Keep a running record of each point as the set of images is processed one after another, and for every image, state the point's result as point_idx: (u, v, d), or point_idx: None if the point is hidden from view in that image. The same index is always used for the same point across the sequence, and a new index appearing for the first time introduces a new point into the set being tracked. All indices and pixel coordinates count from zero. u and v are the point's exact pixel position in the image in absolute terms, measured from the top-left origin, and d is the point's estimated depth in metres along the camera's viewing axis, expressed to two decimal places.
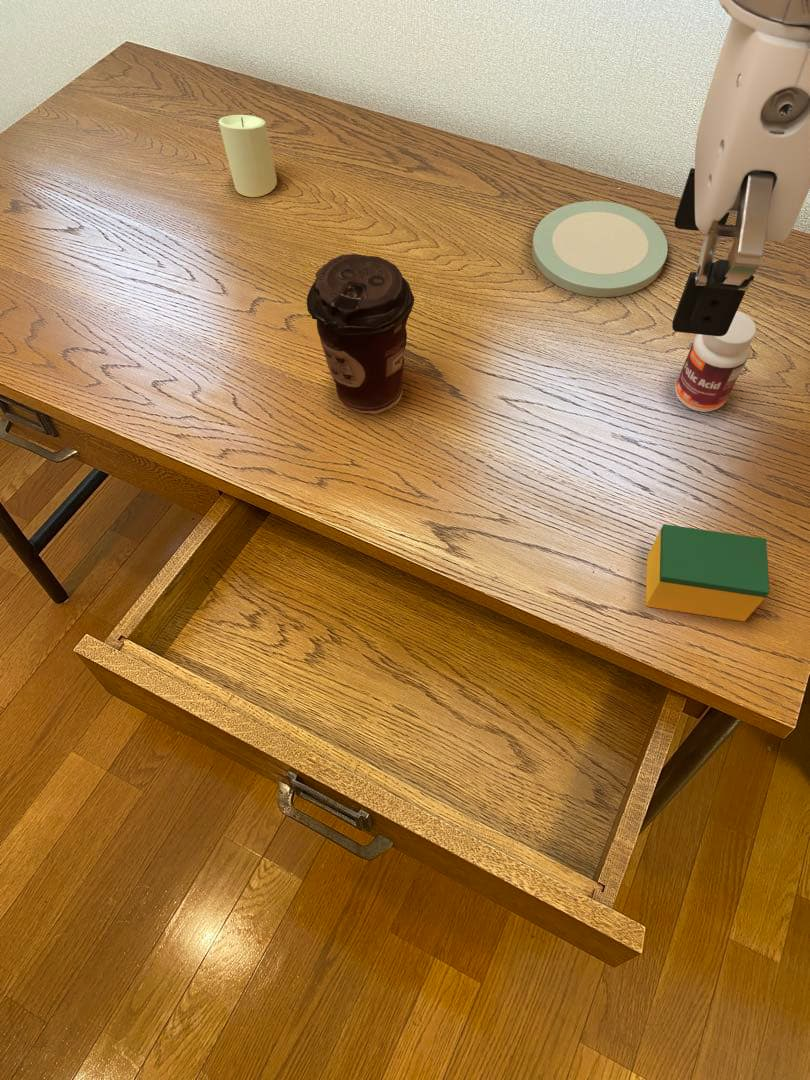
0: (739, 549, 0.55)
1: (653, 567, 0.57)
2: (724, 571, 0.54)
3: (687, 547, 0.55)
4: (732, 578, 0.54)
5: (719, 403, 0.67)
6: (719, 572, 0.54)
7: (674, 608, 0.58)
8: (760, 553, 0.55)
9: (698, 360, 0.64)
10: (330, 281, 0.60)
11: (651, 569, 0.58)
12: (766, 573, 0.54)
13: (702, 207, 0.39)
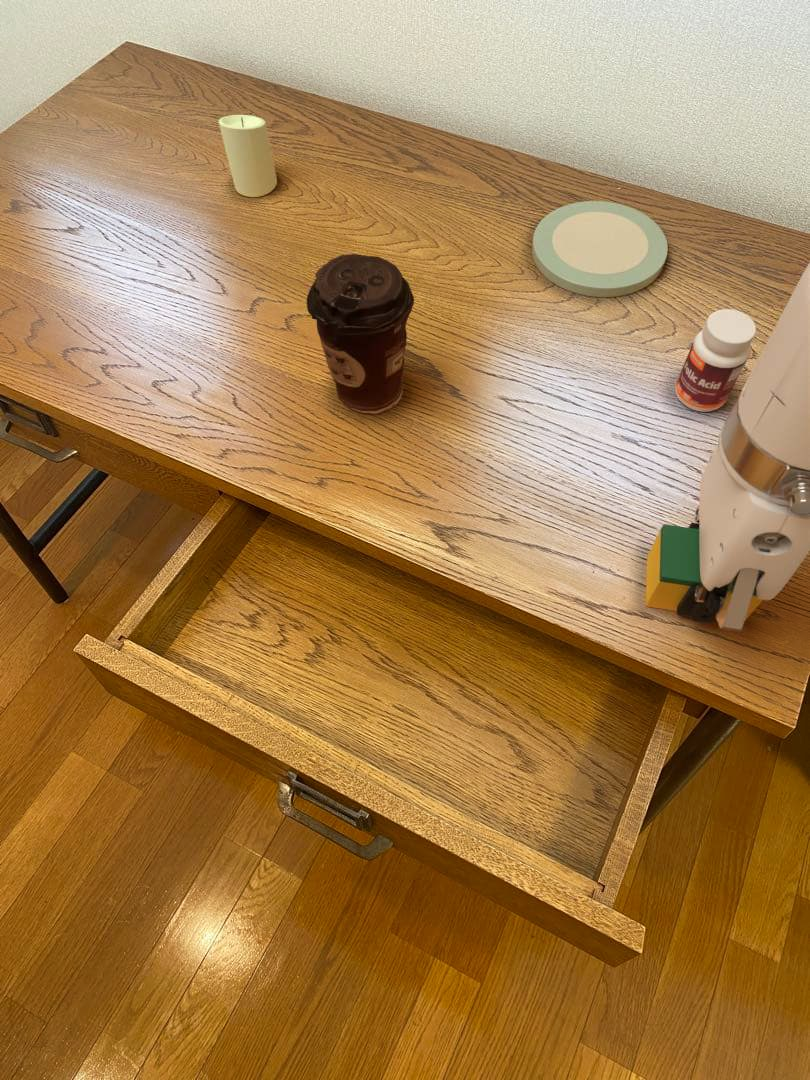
0: None
1: (653, 567, 0.57)
2: None
3: (687, 547, 0.55)
4: None
5: (719, 403, 0.67)
6: None
7: (674, 608, 0.58)
8: None
9: (698, 360, 0.64)
10: (330, 281, 0.60)
11: (651, 569, 0.58)
12: None
13: (706, 574, 0.49)
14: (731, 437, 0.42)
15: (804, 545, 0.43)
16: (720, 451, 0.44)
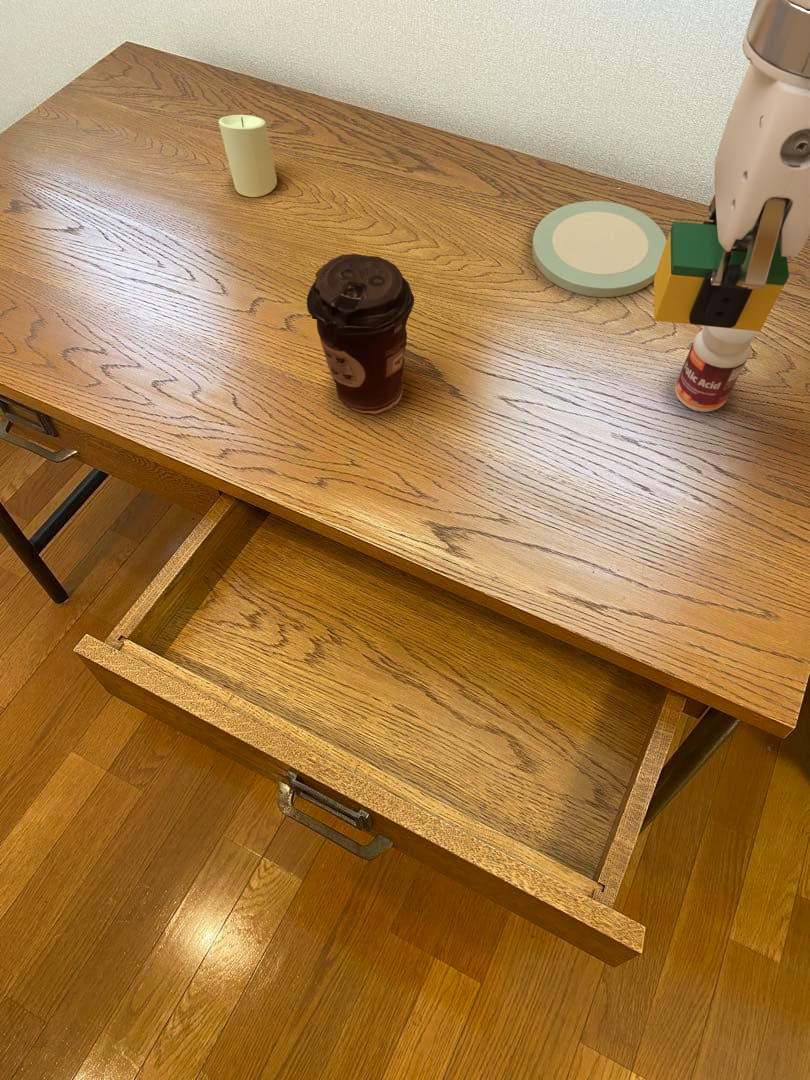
0: None
1: (662, 274, 0.53)
2: (740, 259, 0.50)
3: (699, 240, 0.51)
4: None
5: (719, 403, 0.67)
6: (735, 260, 0.50)
7: (685, 319, 0.54)
8: (778, 243, 0.51)
9: (698, 360, 0.64)
10: (330, 281, 0.60)
11: (660, 280, 0.54)
12: (785, 260, 0.50)
13: (726, 227, 0.45)
14: (759, 17, 0.38)
15: None
16: (745, 48, 0.40)
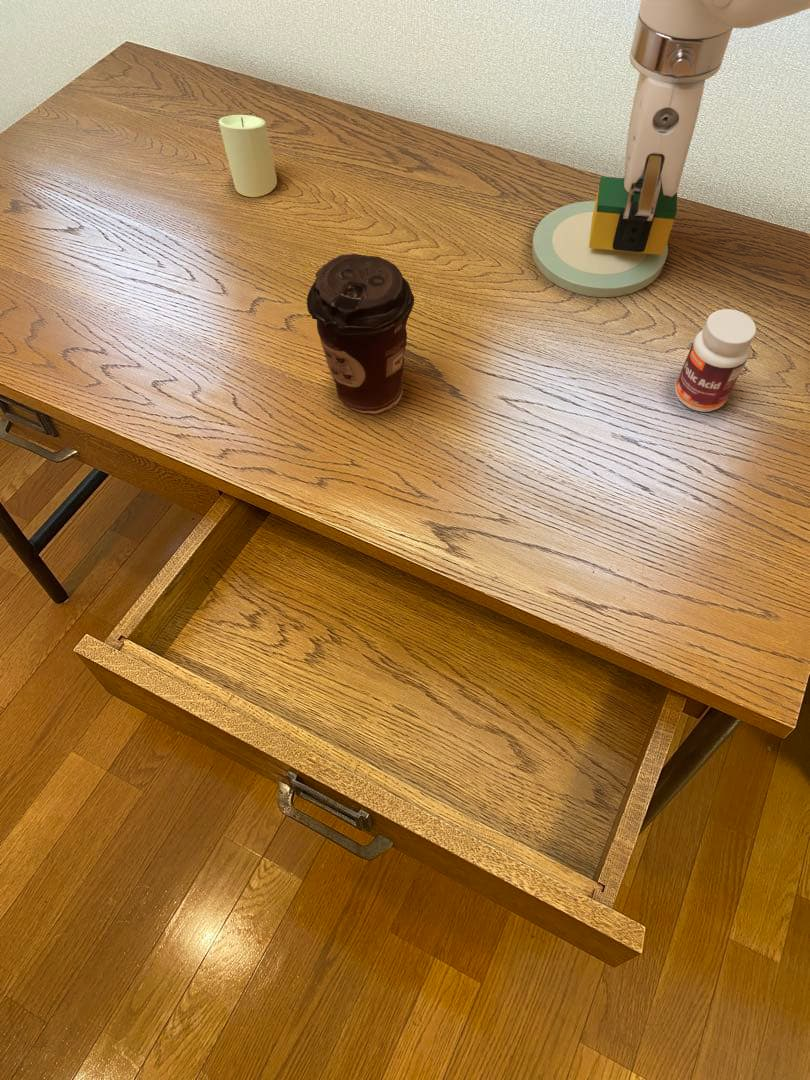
0: None
1: (594, 214, 0.76)
2: None
3: (618, 188, 0.74)
4: None
5: (719, 403, 0.67)
6: None
7: (610, 246, 0.76)
8: None
9: (698, 360, 0.64)
10: (331, 281, 0.60)
11: (593, 218, 0.76)
12: (675, 201, 0.72)
13: (626, 175, 0.67)
14: (635, 37, 0.61)
15: (688, 119, 0.62)
16: (630, 57, 0.62)
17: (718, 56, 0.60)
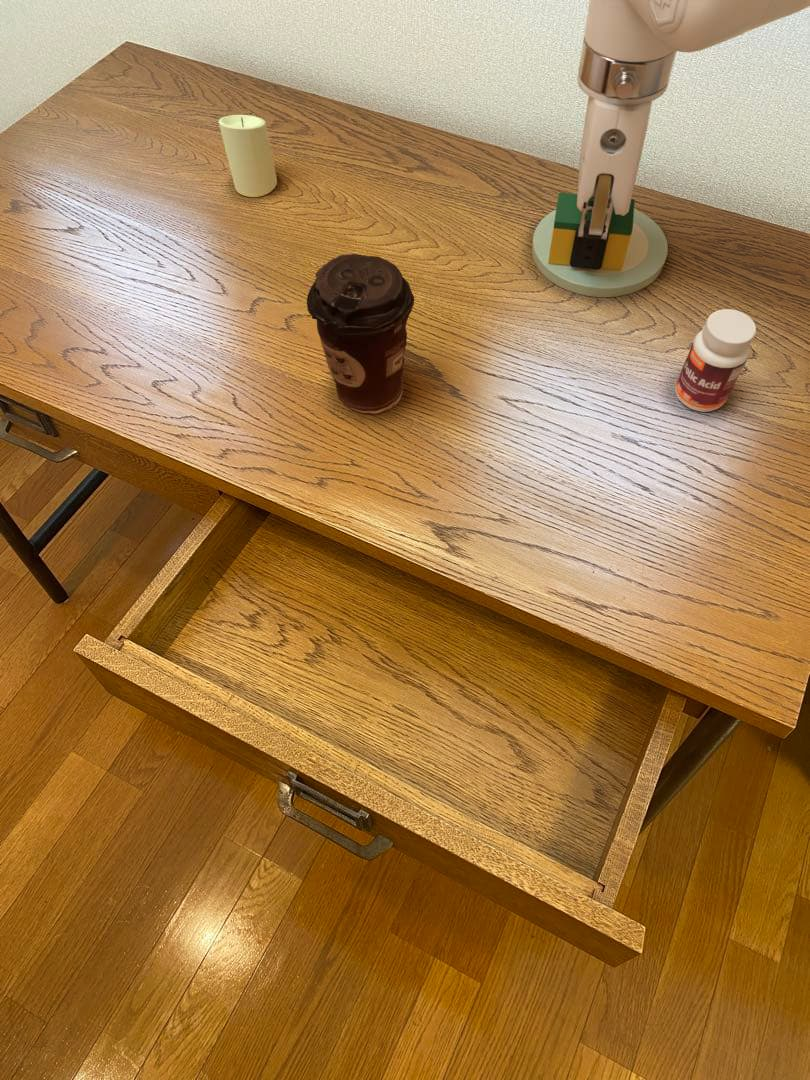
0: None
1: None
2: None
3: (575, 204, 0.74)
4: None
5: (719, 403, 0.67)
6: None
7: (569, 262, 0.76)
8: None
9: (698, 360, 0.64)
10: (330, 281, 0.60)
11: None
12: (631, 218, 0.72)
13: (578, 194, 0.68)
14: (581, 59, 0.61)
15: (635, 140, 0.62)
16: (578, 78, 0.63)
17: (663, 78, 0.60)
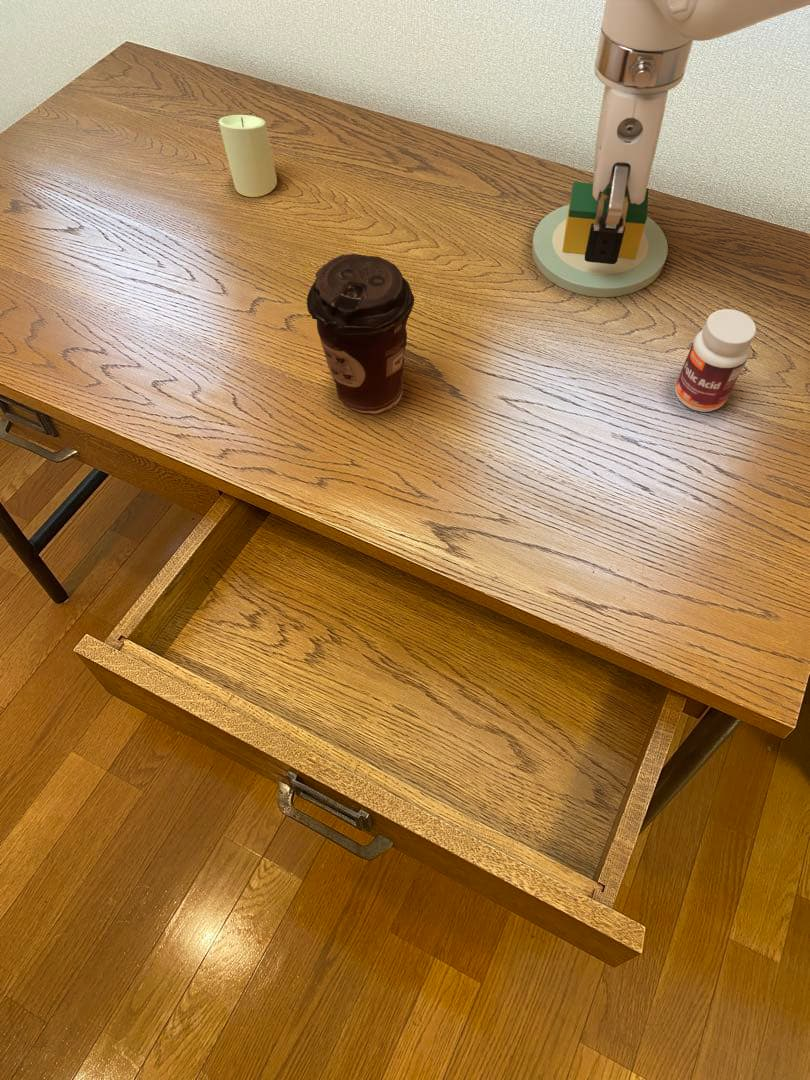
0: None
1: (567, 219, 0.77)
2: None
3: (589, 193, 0.75)
4: None
5: (719, 403, 0.67)
6: None
7: (583, 251, 0.77)
8: None
9: (698, 360, 0.64)
10: (330, 281, 0.60)
11: (566, 223, 0.77)
12: (646, 206, 0.73)
13: (594, 184, 0.68)
14: (599, 49, 0.62)
15: (651, 129, 0.63)
16: (595, 68, 0.63)
17: (679, 67, 0.61)
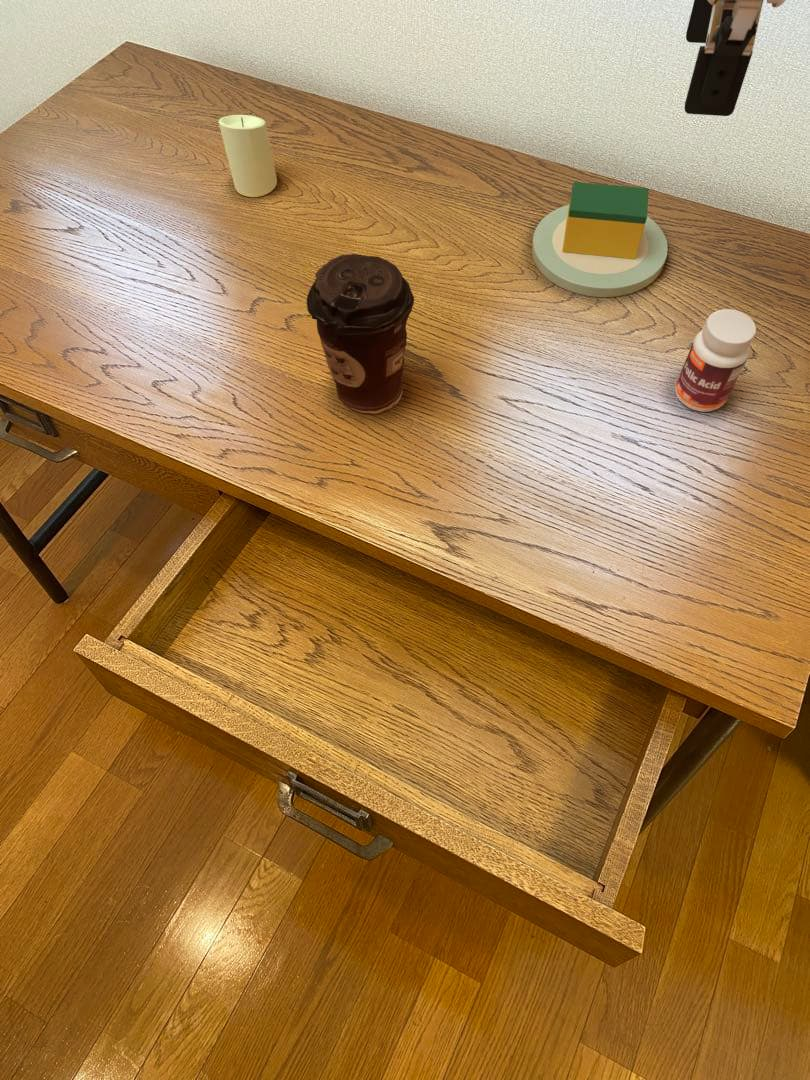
0: (627, 194, 0.74)
1: (567, 219, 0.77)
2: (615, 206, 0.73)
3: (589, 193, 0.75)
4: (620, 209, 0.73)
5: (719, 403, 0.67)
6: (611, 206, 0.73)
7: (583, 251, 0.77)
8: (643, 196, 0.74)
9: (698, 360, 0.64)
10: (330, 281, 0.60)
11: (566, 223, 0.77)
12: (646, 206, 0.73)
13: None
14: None
15: None
16: None
17: None
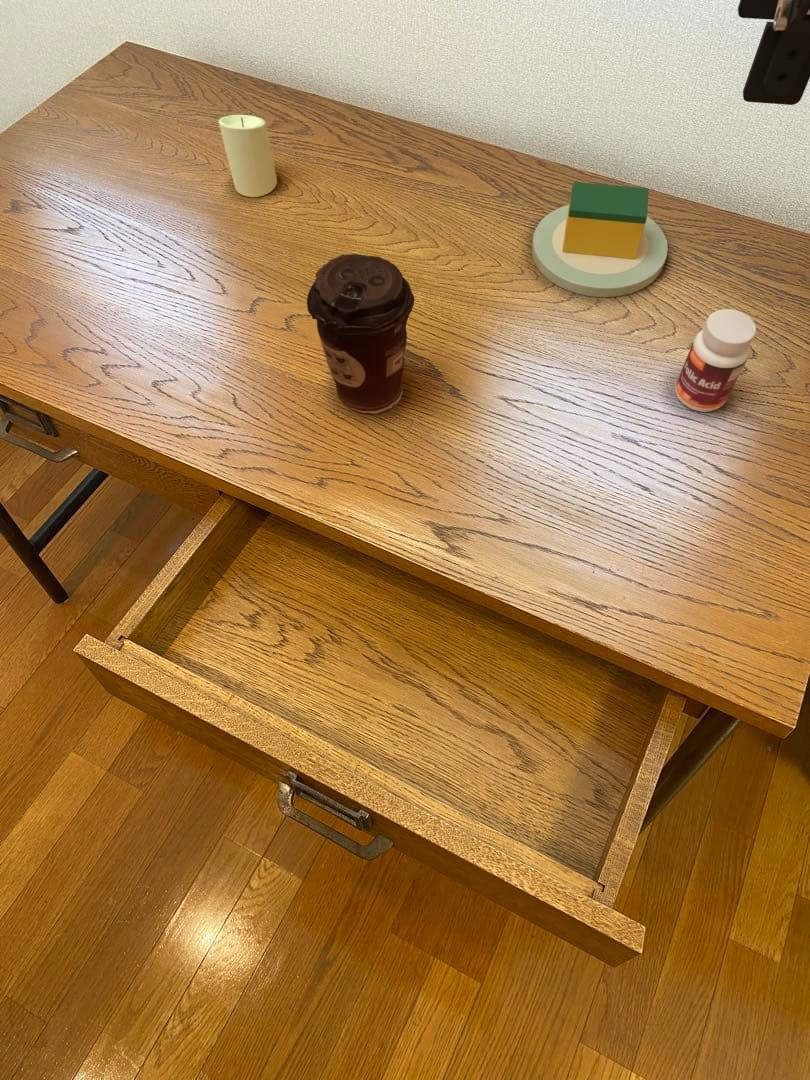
0: (627, 194, 0.74)
1: (567, 219, 0.77)
2: (615, 206, 0.73)
3: (589, 193, 0.75)
4: (620, 209, 0.73)
5: (719, 403, 0.67)
6: (611, 206, 0.73)
7: (583, 251, 0.77)
8: (643, 196, 0.74)
9: (698, 360, 0.64)
10: (331, 281, 0.60)
11: (566, 223, 0.77)
12: (646, 206, 0.73)
13: None
14: None
15: None
16: None
17: None
